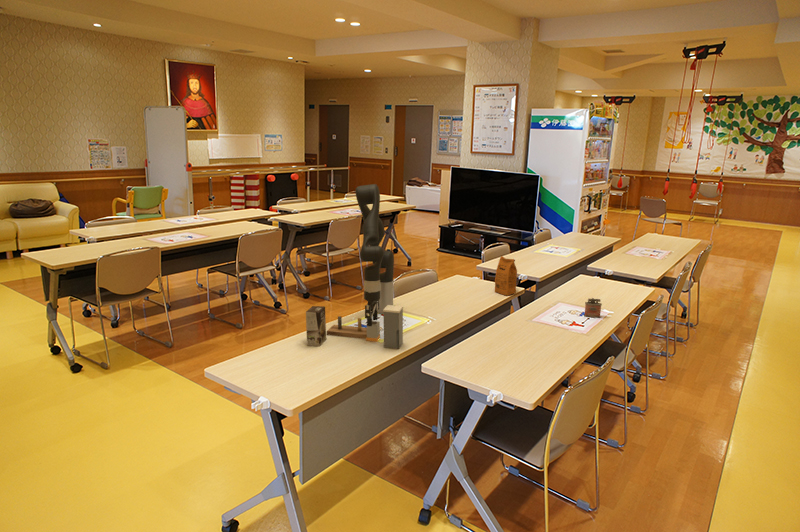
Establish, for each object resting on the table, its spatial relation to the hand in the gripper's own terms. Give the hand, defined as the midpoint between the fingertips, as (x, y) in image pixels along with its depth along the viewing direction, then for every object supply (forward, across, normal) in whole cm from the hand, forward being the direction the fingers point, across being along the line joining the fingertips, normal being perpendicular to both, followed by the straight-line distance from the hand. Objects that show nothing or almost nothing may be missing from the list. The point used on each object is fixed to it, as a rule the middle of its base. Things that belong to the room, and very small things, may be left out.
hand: (372, 322), depth 240 cm
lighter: (+7, -60, +102) cm, 118 cm away
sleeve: (+8, 0, 0) cm, 8 cm away
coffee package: (+7, -92, +55) cm, 107 cm away
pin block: (+8, -4, -13) cm, 16 cm away
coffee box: (+8, +10, -24) cm, 27 cm away
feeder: (+8, +4, +11) cm, 15 cm away
